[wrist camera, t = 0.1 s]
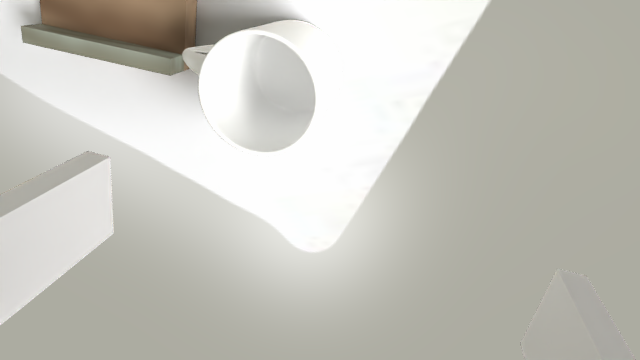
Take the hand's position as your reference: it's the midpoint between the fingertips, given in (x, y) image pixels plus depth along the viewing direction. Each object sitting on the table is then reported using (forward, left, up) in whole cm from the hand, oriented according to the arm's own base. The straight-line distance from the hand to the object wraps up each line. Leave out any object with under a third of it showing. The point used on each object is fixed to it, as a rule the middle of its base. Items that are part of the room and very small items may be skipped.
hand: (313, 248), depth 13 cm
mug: (+1, -9, -28) cm, 30 cm away
